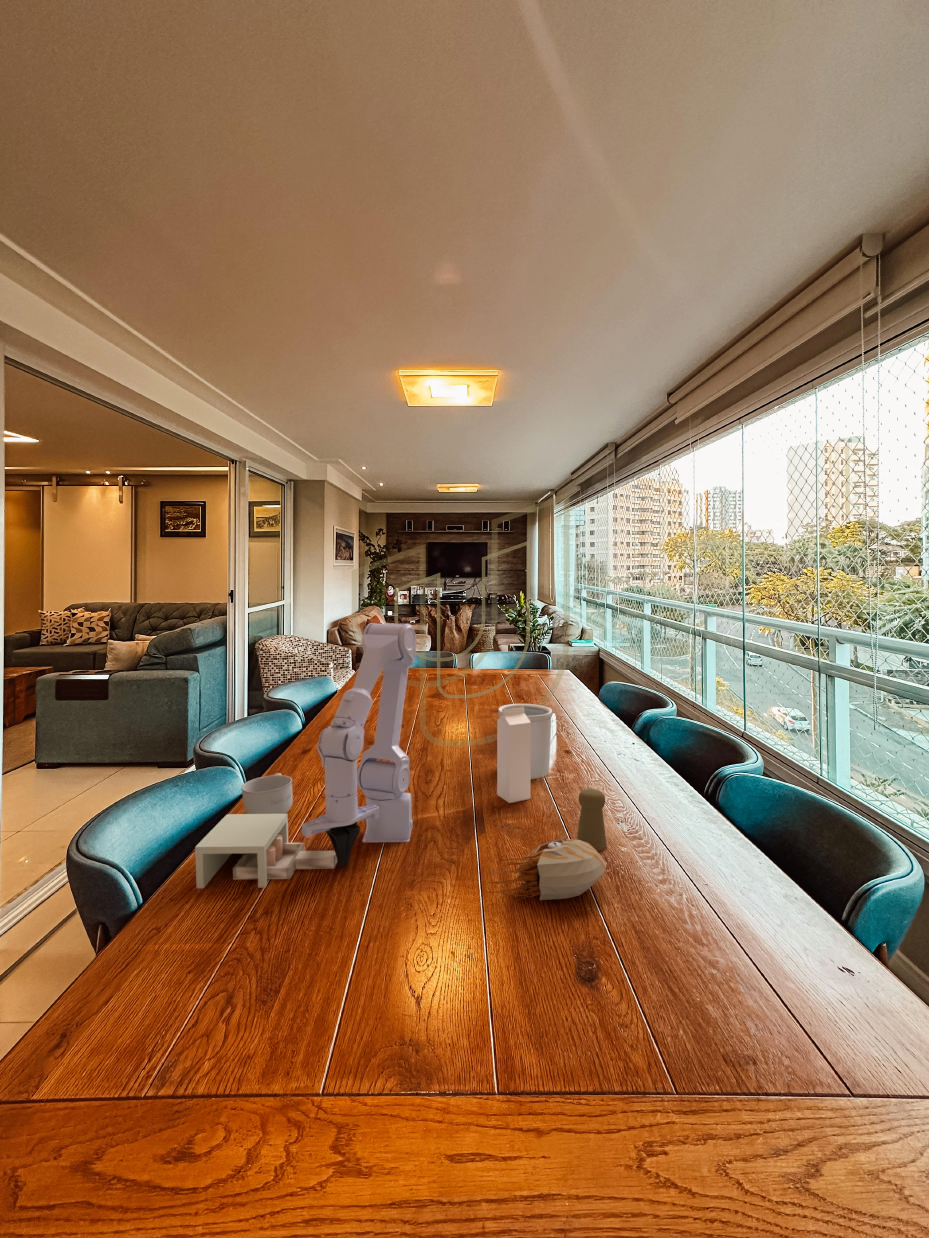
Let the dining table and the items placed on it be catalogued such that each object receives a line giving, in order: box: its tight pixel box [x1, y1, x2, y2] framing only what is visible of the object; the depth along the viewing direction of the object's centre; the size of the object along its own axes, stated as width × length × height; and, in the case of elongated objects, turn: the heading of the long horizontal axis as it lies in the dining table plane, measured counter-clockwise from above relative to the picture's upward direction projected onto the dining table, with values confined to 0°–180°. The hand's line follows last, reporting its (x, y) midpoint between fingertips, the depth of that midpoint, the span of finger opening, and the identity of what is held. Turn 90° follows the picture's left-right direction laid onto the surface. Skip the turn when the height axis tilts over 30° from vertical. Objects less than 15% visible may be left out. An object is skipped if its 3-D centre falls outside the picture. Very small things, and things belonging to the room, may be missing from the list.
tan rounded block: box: [266, 846, 276, 867], centre depth 106 cm, size 3×3×4 cm
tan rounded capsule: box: [270, 834, 283, 861], centre depth 111 cm, size 3×3×4 cm
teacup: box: [240, 772, 294, 814], centre depth 133 cm, size 14×11×8 cm
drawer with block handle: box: [232, 842, 338, 880], centre depth 108 cm, size 17×10×2 cm, turn 90°
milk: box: [496, 707, 531, 804], centre depth 142 cm, size 6×6×22 cm
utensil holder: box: [497, 703, 553, 780], centre depth 162 cm, size 15×15×18 cm
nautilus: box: [485, 838, 607, 902], centre depth 100 cm, size 8×22×15 cm
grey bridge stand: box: [194, 813, 289, 889], centre depth 107 cm, size 12×14×8 cm
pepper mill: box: [576, 788, 608, 852], centre depth 117 cm, size 6×6×11 cm
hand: (342, 864), depth 108 cm, fingers closed
